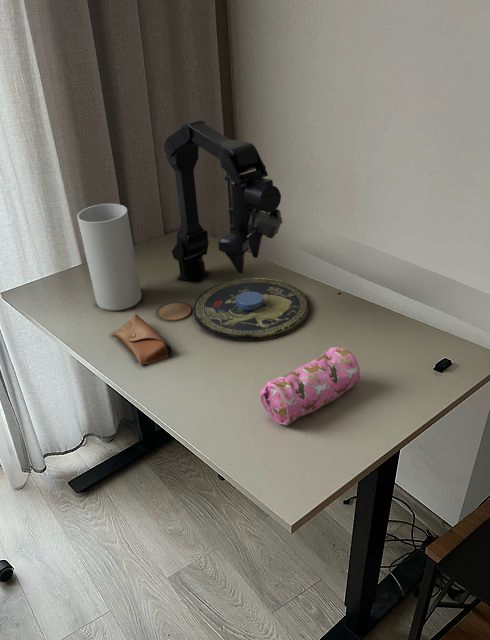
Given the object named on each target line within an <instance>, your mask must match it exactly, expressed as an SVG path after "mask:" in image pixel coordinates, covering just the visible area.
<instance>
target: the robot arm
mask: <svg viewBox="0 0 490 640" xmlns="http://www.w3.org/2000/svg"><path fill="white" fill-rule="evenodd" d="M200 148H201V149H203V150H204V151H205V152H208V153H209V154H210V155H212V156H213V157H214V158H216V159H218V160H219V165H220V168H221V169H223V170H224V171H225V172H226V173H227V174H226V175H225V176H224V178H223V179H224V181H226V182H229V191H230V201H231V204H230V205H231V207H230V208H228V214H229V215H230V214H231V215H232V224H231V225H230V226H229V229H230V231H231V232H235V233H228V232H227V233H226V234H225V235H224V236H222V238H220V240H218V242H217V244H218V245H217V246H218V251H219V252H222V253H224V254H225V256H227V258H228V259H229V260H230V262H231V264H232V265H233V267H234V268H235V270H236V272H237V273H238V274H244V270H245V269H244V266H245V254H246V252H247V251H249V250H250V253H251V256H252V258H255V259H257V258H258V257H259V254H260V248H261V246H262V245H261V244H262V240H263V236H265V237H266V238H268V239H274V237H275V236H276V235H277V234H278V233H279V230H280V227H281V225H282V224H283V217H282V214H281V210H280V209H278V208H279V206H280V204H281V202H282V201H281V200H282V193H281V192H280V190H279V188H278V187H277V186H275V185H274V180H273V179H271V178H266V177H268V176H269V174H268V171H267V166H265V164H264V162H263V160H262V158H261V156H260V153H259V151H258V150H257V148H256V146H255V145H254V144H253V143H251V142H249V141H245V140H234V139H231V138H229V137H227V136H226V135H223V134H222V133H220V132H219V131H217V130H216V129H214V128H212V127H211V126H209V125H207V123H206V122H205V121H204V120H202V119H197V120H193V121H188V122H186V123H184V124H183V125H182V126H181V127H180V128H179V129H177V130H176V131H175V132H174V133H172V134H171V135H169V136H167V137H166V139H165V140H164V143H163V150H164V154H165V156H166V157H165V158H166V161H167V163H168V164H169V165H170V166H171V168H172V169H173V171H174V176H175V185H176V193H177V201H178V202H177V203H178V210H179V217H180V226H179V228H178V230H177V233H176V244H175V245H174V247H173V249H171V253H172V258H173V259H174V260H175V261H177V262H178V267H179V276H177V280H180V281H187V282H193V283H199V281H201V279H202V278H204V277H205V275H206V274H207V272H208V271H207V270H206V265H205V264H206V263H205V260H204V258H203V257H204V256H206V255H207V254H208V248H209V244H210V242H209V233H208V230H206V229H205V228H204V227H203V226H202V225H201V224H200V218H199V217H200V216H199V208H198V207H199V206H198V197H197V187H196V178H195V168H196V166H197V163H198V161H199V158H200Z"/></svg>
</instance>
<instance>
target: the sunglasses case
mask: <svg viewBox="0 0 490 640" xmlns="http://www.w3.org/2000/svg"><path fill="white" fill-rule="evenodd" d="M112 336H114V337H115V338H116V339H117V340H119V341H120V342H121V343H122V344H123V345H124V346H125V347H126V348H127V350H128V351H129V352H130V353H131V354H132V356H133V357H134V358H135V359H136V361H137V362H138V364H139V365H140V366H146V365H150V364H154V363H157V362H160V361H162V360H163V361H164V360H165V359H168V358H169V357H170V356H171V355H172V353H173V349H172V347H171V346H170V345H169V344H168V343H167V341H166V340H165V339H164V338H163V337H162V336H161V335H160V334H159V333H158V332H157V331H156V330H155V329H154V328H153V327H152V326H150V325H149V323H148V322H146V321H145V320H144V319H143V318H142V317H141V316H139V315H138V314H137V313H135V314H134V316H133V317H132V318H131V319H129V320H128V321H127V322H126V323H125V324H123V325H122V326H121V327H120V328H119V329H118V330H117V331H116V332H114V333H112Z"/></svg>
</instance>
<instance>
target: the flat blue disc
mask: <svg viewBox="0 0 490 640" xmlns="http://www.w3.org/2000/svg"><path fill="white" fill-rule="evenodd" d="M236 305H237V306H238V307H239V308H241V309H243V310H246V311H253V310H256V309H258V308H259V307H261V306H262V305H263V296H262V295H261V294H260V293H258V292H244V293H241V294H239V295H238V296H237V297H236Z"/></svg>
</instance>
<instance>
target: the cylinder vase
mask: <svg viewBox="0 0 490 640" xmlns="http://www.w3.org/2000/svg"><path fill="white" fill-rule="evenodd" d="M76 217H77V221H78V226H79V231H80V235H81V240H82V245H83V250H84V253H85V258H86V261H87V266H88V267H87V268H88V271H89V275H90V280H91V284H92V289H93V293H94V298H95V303H96V304H97V306H98V307H99V308H101V309H103V310H106V311H111V312H112V311H114V312H116V311H124V310H127V309H130V308H133V307H134V306H136V305H137V304H139V302H140V301H141V300H142V297H143V296H142V294H143V293H142V287H141V284H140V283H141V282H140V276H139V271H138V265H137V258H136V254H135V253H136V252H135V248H134V241H133V236H132V229H131V225H130V224H131V223H130V219H129V212H128V208H127V207H126V206H125V205H122V204H118V203H101V204H96V205H91V206H89V207H86V208H84V209H82V210H81V211H79V212H78V213H77V216H76Z"/></svg>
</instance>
